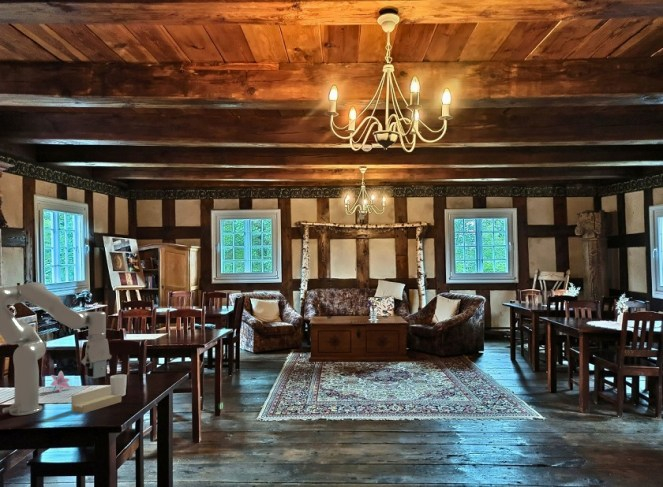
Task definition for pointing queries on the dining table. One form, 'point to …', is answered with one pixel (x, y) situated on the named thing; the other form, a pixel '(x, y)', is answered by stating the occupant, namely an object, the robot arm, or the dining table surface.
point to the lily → (60, 381)
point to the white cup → (118, 384)
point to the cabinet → (99, 369)
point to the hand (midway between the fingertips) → (96, 374)
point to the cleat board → (93, 400)
